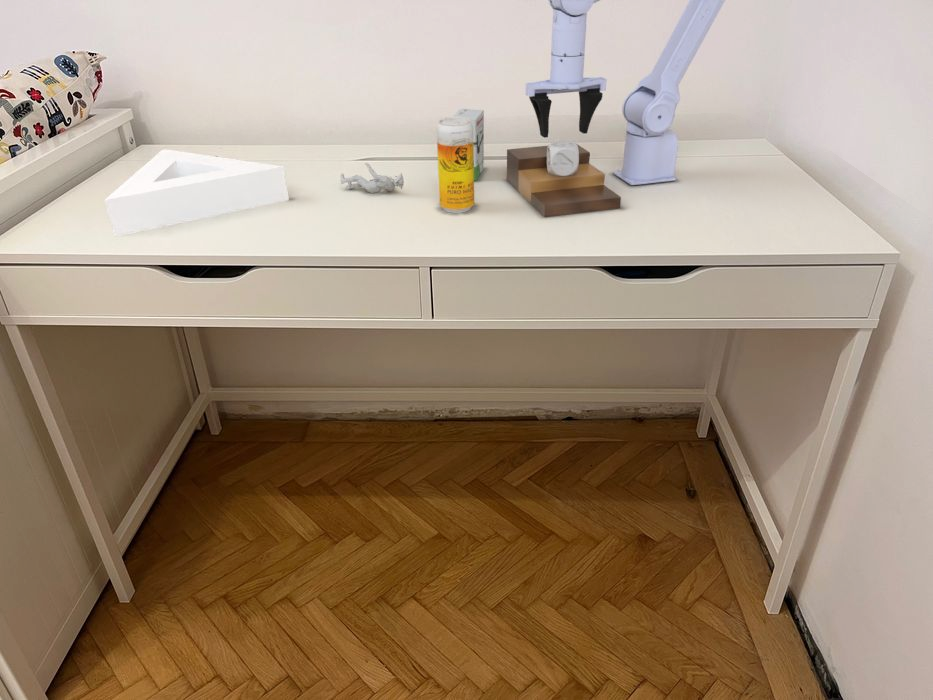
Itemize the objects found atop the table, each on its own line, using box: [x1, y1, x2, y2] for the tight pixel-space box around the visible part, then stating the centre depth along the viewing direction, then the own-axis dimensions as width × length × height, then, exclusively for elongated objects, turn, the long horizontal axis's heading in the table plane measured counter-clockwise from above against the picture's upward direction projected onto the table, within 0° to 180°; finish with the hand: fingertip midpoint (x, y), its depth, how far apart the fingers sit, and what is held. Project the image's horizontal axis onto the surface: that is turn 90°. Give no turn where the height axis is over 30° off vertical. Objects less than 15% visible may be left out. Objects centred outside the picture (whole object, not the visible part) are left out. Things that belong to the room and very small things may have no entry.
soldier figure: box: [340, 162, 405, 194], centre depth 129 cm, size 8×5×12 cm
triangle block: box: [103, 148, 290, 238], centre depth 129 cm, size 30×26×6 cm
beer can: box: [436, 116, 475, 214], centre depth 118 cm, size 6×6×15 cm
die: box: [547, 140, 579, 176], centre depth 124 cm, size 5×5×5 cm
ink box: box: [452, 108, 485, 181], centre depth 136 cm, size 9×5×12 cm, turn 168°
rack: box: [506, 143, 622, 218], centre depth 126 cm, size 14×21×6 cm, turn 15°
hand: (563, 134), depth 126 cm, fingers open, 7 cm apart
